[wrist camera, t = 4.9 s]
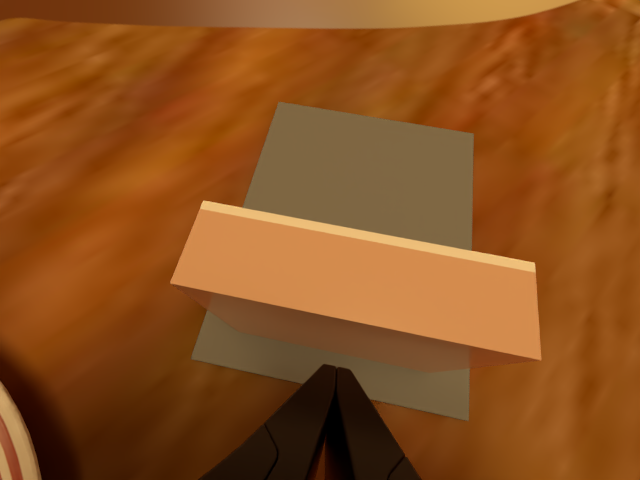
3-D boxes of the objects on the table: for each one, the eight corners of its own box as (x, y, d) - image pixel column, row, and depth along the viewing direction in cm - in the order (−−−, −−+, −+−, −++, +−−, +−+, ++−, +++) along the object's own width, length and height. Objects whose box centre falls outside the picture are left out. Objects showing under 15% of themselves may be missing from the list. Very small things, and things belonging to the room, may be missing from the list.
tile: (429, 372, 17) (541, 360, 8) (238, 332, 17) (169, 283, 9) (432, 319, 18) (534, 261, 10) (253, 282, 18) (203, 199, 10)
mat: (465, 420, 16) (468, 421, 16) (193, 359, 17) (190, 359, 17) (471, 137, 23) (473, 133, 23) (279, 106, 24) (278, 101, 24)
